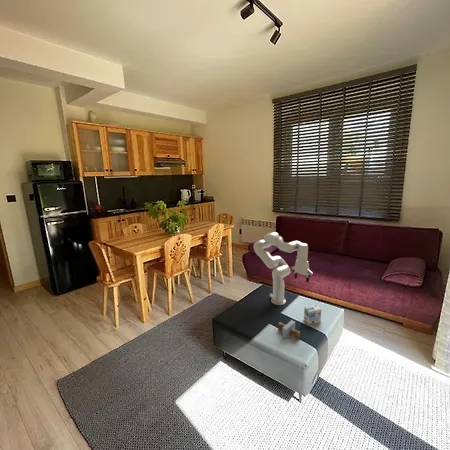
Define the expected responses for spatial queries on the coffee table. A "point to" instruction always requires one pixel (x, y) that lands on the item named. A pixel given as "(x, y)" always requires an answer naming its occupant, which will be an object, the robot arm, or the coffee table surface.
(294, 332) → the rail
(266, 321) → the coffee table surface
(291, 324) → the bar
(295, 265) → the robot arm
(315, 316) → the light bulb box
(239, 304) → the coffee table surface
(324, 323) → the coffee table surface
